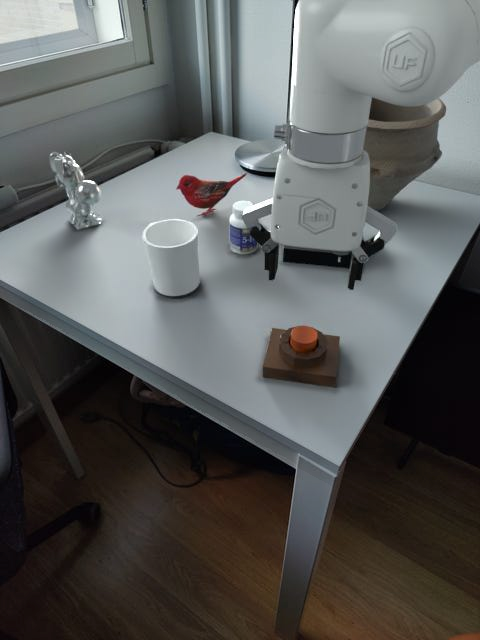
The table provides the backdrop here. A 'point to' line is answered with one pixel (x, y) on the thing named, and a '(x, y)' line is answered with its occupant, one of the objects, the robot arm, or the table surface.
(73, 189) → the chrome statue
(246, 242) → the pill bottle
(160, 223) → the mug
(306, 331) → the button
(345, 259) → the panel
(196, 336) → the table surface
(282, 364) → the button block
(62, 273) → the table surface
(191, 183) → the decorative bird figurine
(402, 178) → the planter
